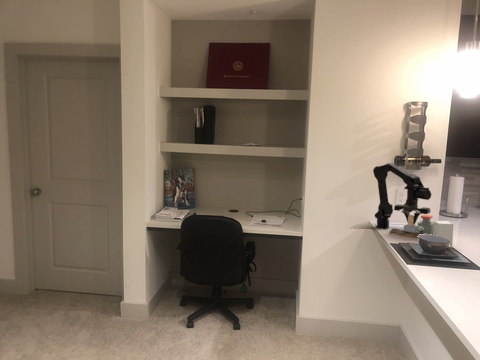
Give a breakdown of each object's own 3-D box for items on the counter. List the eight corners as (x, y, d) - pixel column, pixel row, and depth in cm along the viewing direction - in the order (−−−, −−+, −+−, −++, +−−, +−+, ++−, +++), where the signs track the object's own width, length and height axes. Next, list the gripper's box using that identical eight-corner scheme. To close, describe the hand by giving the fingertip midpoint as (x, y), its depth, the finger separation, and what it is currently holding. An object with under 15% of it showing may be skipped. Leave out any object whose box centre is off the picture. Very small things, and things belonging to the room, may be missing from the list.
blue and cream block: (403, 230, 217) (404, 215, 216) (407, 228, 222) (408, 213, 221) (414, 232, 213) (414, 217, 212) (418, 230, 218) (419, 215, 217)
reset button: (420, 226, 223) (420, 216, 222) (423, 224, 226) (423, 214, 225) (429, 227, 219) (429, 217, 218) (432, 225, 223) (432, 215, 222)
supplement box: (452, 247, 193) (453, 224, 191) (437, 247, 194) (438, 223, 193) (447, 243, 200) (448, 220, 198) (433, 243, 201) (434, 220, 200)
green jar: (416, 232, 223) (417, 222, 222) (420, 230, 228) (421, 220, 228) (431, 234, 218) (431, 224, 217) (434, 232, 223) (435, 222, 222)
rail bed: (389, 233, 223) (389, 226, 223) (393, 230, 228) (394, 224, 228) (420, 238, 211) (421, 231, 210) (424, 235, 216) (425, 229, 215)
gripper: (390, 197, 216) (390, 223, 218) (424, 201, 203) (423, 228, 205) (398, 195, 224) (397, 220, 226) (431, 198, 211) (430, 224, 213)
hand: (411, 223), depth 217 cm, fingers closed on blue and cream block, 3 cm apart
